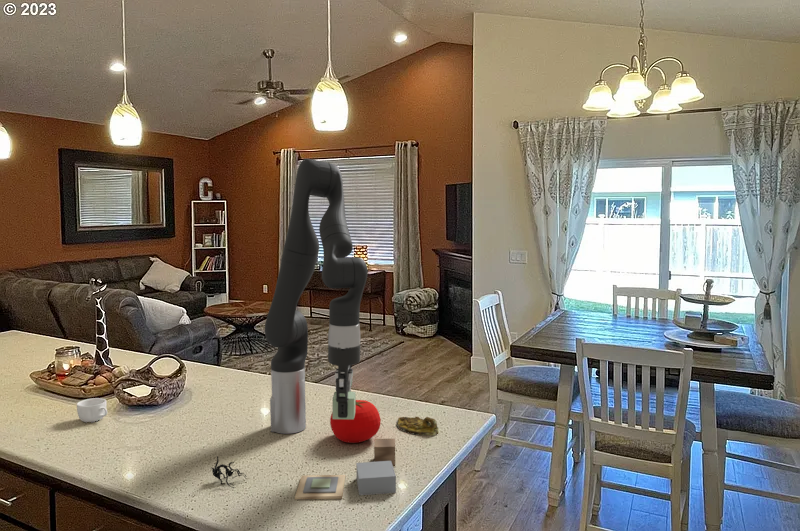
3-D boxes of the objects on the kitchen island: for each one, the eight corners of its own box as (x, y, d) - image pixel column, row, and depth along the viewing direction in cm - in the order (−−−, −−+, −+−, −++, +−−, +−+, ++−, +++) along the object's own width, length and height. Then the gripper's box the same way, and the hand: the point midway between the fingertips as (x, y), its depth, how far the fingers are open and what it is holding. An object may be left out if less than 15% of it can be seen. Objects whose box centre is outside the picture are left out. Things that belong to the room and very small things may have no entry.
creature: (248, 477, 138) (214, 471, 137) (252, 455, 137) (218, 449, 136) (241, 493, 130) (205, 487, 129) (246, 470, 129) (210, 464, 129)
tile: (294, 499, 124) (294, 494, 124) (301, 477, 134) (301, 472, 134) (342, 498, 125) (342, 493, 125) (345, 477, 135) (345, 472, 134)
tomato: (321, 436, 159) (320, 398, 158) (360, 425, 167) (360, 389, 166) (349, 453, 148) (348, 413, 147) (390, 441, 156) (390, 402, 155)
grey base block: (359, 496, 126) (358, 478, 126) (356, 479, 134) (356, 462, 134) (395, 493, 127) (395, 476, 127) (391, 477, 135) (391, 460, 135)
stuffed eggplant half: (387, 430, 167) (427, 443, 157) (385, 414, 166) (426, 426, 156) (408, 418, 174) (448, 429, 164) (407, 403, 173) (447, 414, 163)
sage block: (332, 419, 137) (332, 398, 136) (334, 411, 142) (334, 391, 141) (353, 419, 137) (354, 398, 136) (355, 411, 142) (355, 391, 141)
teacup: (71, 422, 170) (70, 404, 170) (94, 413, 177) (93, 396, 177) (95, 427, 166) (94, 409, 166) (118, 418, 173) (117, 400, 173)
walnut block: (374, 467, 140) (374, 446, 140) (374, 458, 145) (374, 438, 145) (395, 466, 140) (395, 446, 140) (395, 458, 145) (394, 438, 145)
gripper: (331, 335, 144) (331, 402, 146) (324, 349, 130) (324, 423, 132) (362, 336, 144) (361, 403, 146) (358, 350, 130) (357, 424, 132)
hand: (343, 412), depth 139 cm, fingers closed on sage block, 5 cm apart
